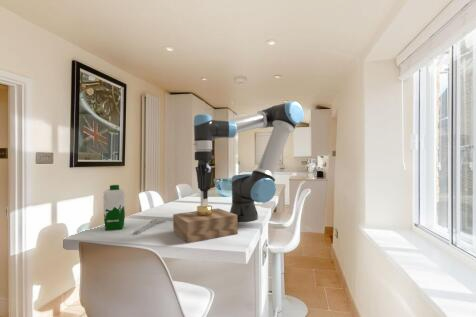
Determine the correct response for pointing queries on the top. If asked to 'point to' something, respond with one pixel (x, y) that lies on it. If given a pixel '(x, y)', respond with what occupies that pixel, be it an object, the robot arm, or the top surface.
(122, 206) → the milk carton
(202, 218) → the block
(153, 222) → the adjustable wrench
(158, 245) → the top surface
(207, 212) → the pin
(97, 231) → the top surface
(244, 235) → the top surface
